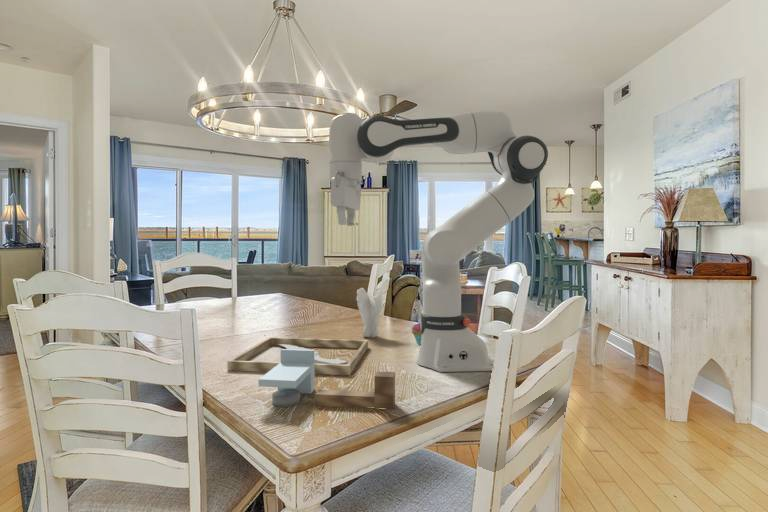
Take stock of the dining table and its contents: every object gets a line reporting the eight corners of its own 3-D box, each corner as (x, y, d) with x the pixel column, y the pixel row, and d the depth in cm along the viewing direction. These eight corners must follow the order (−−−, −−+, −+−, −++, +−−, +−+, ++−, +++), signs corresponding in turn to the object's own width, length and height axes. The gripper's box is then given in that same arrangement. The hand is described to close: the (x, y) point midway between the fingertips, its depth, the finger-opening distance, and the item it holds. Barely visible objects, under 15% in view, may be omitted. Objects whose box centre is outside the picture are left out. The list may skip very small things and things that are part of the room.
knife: (351, 371, 123) (351, 362, 123) (326, 376, 119) (326, 366, 119) (294, 344, 154) (294, 337, 153) (273, 348, 149) (273, 340, 149)
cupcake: (406, 343, 154) (406, 308, 154) (422, 339, 160) (422, 306, 160) (425, 347, 148) (425, 311, 148) (441, 343, 154) (441, 308, 154)
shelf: (314, 389, 107) (314, 349, 106) (295, 411, 93) (295, 366, 93) (282, 387, 108) (282, 348, 107) (258, 409, 94) (258, 365, 94)
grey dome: (303, 398, 101) (303, 389, 101) (294, 408, 96) (294, 399, 95) (278, 397, 102) (278, 388, 102) (268, 406, 96) (267, 397, 96)
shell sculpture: (385, 335, 166) (385, 287, 165) (373, 340, 159) (373, 289, 158) (367, 333, 170) (367, 286, 170) (354, 337, 163) (354, 288, 163)
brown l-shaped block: (394, 403, 98) (395, 372, 97) (393, 409, 94) (393, 376, 94) (319, 400, 100) (319, 369, 99) (314, 406, 96) (314, 373, 96)
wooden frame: (368, 347, 148) (368, 340, 148) (349, 375, 118) (349, 365, 118) (269, 344, 152) (269, 337, 152) (227, 370, 122) (227, 361, 122)
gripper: (348, 168, 111) (349, 223, 112) (363, 179, 132) (364, 226, 132) (324, 169, 112) (324, 224, 113) (343, 179, 133) (343, 226, 133)
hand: (346, 225), depth 123 cm, fingers open, 8 cm apart
